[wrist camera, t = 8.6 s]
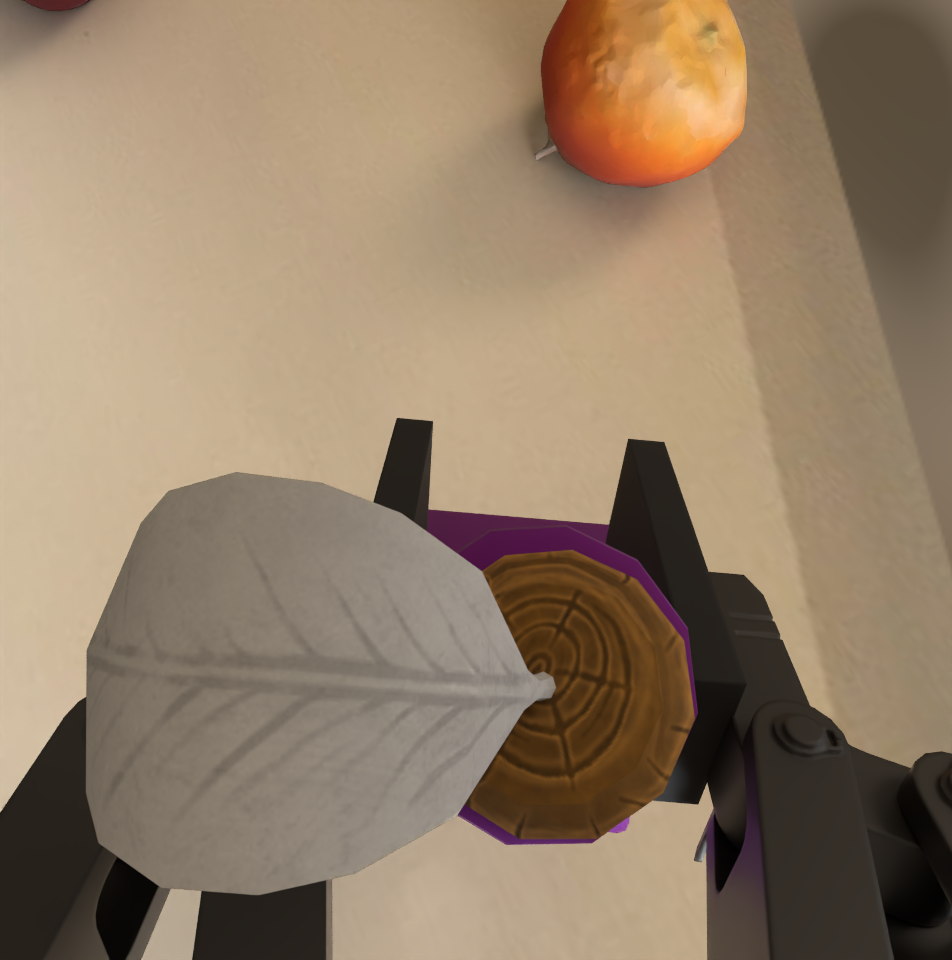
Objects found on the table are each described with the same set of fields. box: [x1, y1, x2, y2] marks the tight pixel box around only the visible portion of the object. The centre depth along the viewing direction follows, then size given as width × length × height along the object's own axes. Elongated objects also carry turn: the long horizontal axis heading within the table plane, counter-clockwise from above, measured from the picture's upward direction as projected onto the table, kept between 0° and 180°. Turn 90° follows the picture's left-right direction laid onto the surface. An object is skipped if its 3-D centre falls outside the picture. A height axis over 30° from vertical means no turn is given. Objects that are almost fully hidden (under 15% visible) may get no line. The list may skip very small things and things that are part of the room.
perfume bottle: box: [86, 472, 698, 895], centre depth 13 cm, size 8×8×18 cm
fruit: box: [535, 0, 747, 187], centre depth 29 cm, size 8×8×8 cm
